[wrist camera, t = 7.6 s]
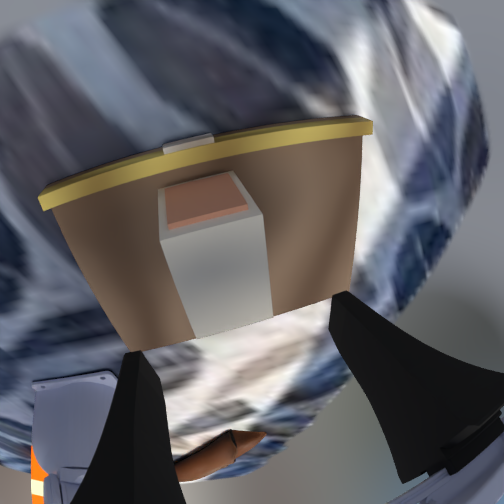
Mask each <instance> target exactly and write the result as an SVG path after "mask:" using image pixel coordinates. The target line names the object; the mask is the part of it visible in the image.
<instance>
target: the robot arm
mask: <svg viewBox="0 0 504 504" xmlns="http://www.w3.org/2000/svg"><path fill="white" fill-rule="evenodd" d="M328 329H329V332H330V334H331V336H332V338H333V340H334V342H335V345H336V347H337V349H338V351H339V353H340V354H341V356H342V357H343V359H344V361H345V362H346V364H347V365H348V367H349V369H350V370H351V372H352V373H353V375H354V377H355V378H356V380H357V381H358V383H359V384H360V386H361V388H362V389H363V391H364V392H365V394H366V396H367V398H368V400H369V401H370V403H371V405H372V408H373V410H374V412H375V414H376V416H377V418H378V421H379V423H380V425H381V428H382V430H383V433H384V435H385V438H386V440H387V443H388V445H389V448H390V451H391V454H392V457H393V460H394V463H395V466H396V469H397V473H398V476H399V478H400V480H401V482H402V484H404V483H406V482H408V481H410V480H412V479H414V478H416V477H418V476H420V475H422V474H424V473H425V472H427V473H428V475H429V478H427V479H426V480H424V481H423V482H421V483H420V484H418V485H416V486H415V487H413V488H412V489H410V490H408V491H407V492H405V493H403V494H402V495H400V496H398V497H396V498H395V499H393V500H391V501H389V502H387V503H386V504H416V503H418V502H420V504H496V503H497V502H498V501H499V499H500V498H501V497H502V496H503V494H504V416H503V417H502V418H499V416H500V415H501V414H502V412H501V411H500V409H501V408H502V407H503V406H504V373H500V372H495V371H492V370H487V369H484V368H481V367H477V366H474V365H471V364H468V363H466V362H463V361H461V360H458V359H456V358H453V357H451V356H448V355H446V354H444V353H442V352H440V351H438V350H436V349H434V348H432V347H430V346H428V345H426V344H424V343H422V342H421V341H419V340H417V339H416V338H414V337H412V336H411V335H409V334H408V333H406V332H404V331H403V330H401V329H400V328H398V327H397V326H395V325H394V324H392V323H391V322H389V321H388V320H387V319H385V318H384V317H382V316H381V315H379V314H378V313H377V312H375V311H374V310H373V309H371V308H370V307H369V306H367V305H366V304H365V303H363V302H362V301H360V300H359V299H358V298H356V297H355V296H354V295H352V294H351V293H350V292H348V291H347V290H346V291H343V292H340V293H337V294H334V295H332V302H331V312H330V320H329V328H328ZM31 386H32V388H33V389H34V390H35V391H36V396H35V405H34V415H33V427H32V447H33V452H34V455H35V458H36V460H37V462H38V464H39V465H40V467H41V468H42V469H43V470H44V471H45V472H46V473H47V474H49V475H48V476H47V477H45V478H44V482H43V499H44V504H186V502H185V499H184V496H183V493H182V490H181V487H180V484H179V480H178V477H177V474H176V470H175V466H174V463H173V458H172V452H171V445H170V438H169V430H168V422H167V414H166V405H165V400H164V395H163V390H162V386H161V381H160V378H159V377H158V375H157V374H156V372H155V371H154V369H153V368H152V366H151V365H150V364H149V362H148V361H147V359H146V358H145V356H144V355H143V353H142V352H141V350H138V351H134V352H129V353H125V355H124V357H123V361H122V365H121V369H120V373H119V377H118V379H117V378H116V377H115V375H114V374H113V373H112V372H110V371H102V372H97V373H91V374H85V375H80V376H73V377H67V378H60V379H54V380H46V381H39V382H33V383H32V385H31Z"/></svg>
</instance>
